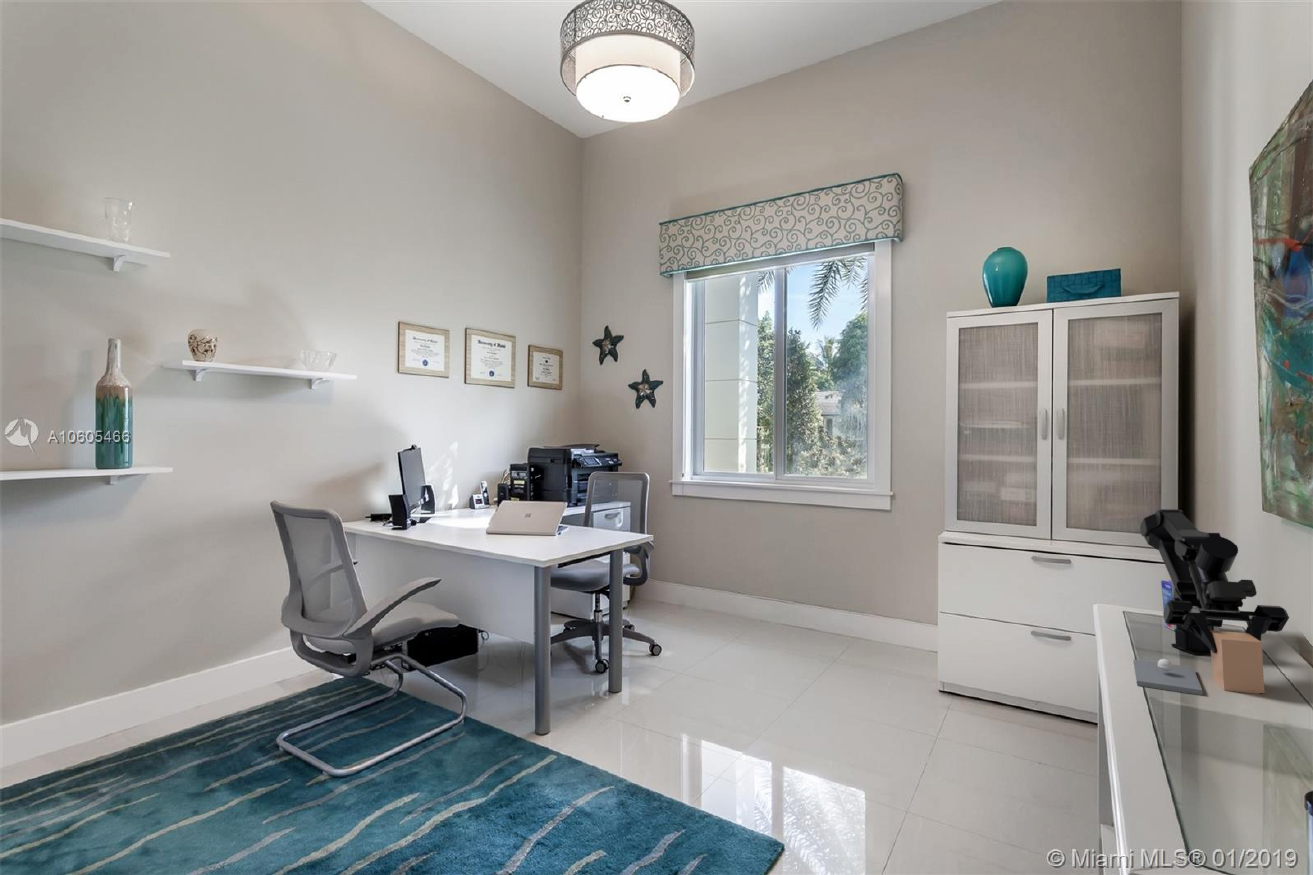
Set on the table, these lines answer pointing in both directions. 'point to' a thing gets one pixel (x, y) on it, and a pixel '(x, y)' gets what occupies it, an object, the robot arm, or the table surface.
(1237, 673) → the cover box
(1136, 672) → the post board
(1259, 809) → the table surface
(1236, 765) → the table surface
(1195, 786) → the table surface
